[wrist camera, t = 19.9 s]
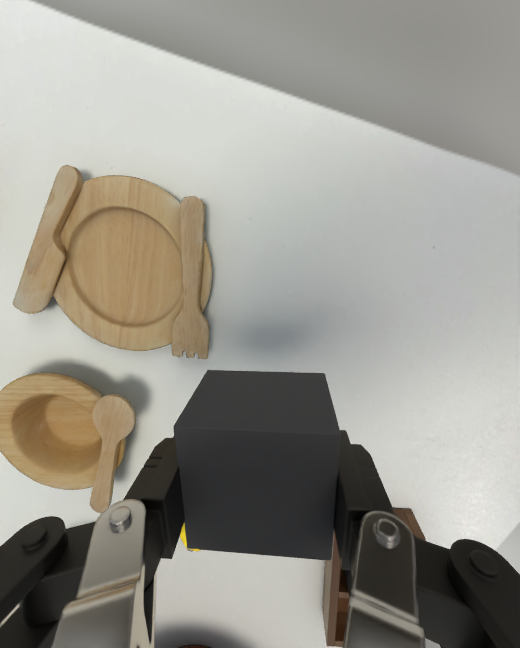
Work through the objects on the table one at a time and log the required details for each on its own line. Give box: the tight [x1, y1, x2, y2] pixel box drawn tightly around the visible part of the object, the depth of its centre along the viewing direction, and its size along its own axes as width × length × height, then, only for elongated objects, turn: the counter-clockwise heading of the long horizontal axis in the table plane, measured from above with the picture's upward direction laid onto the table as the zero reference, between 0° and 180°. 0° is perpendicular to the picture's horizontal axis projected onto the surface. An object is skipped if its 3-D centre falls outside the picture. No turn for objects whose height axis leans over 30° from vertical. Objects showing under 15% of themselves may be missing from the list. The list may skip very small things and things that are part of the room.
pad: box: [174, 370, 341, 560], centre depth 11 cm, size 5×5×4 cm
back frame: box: [323, 508, 425, 647], centre depth 29 cm, size 8×15×3 cm, turn 1°
